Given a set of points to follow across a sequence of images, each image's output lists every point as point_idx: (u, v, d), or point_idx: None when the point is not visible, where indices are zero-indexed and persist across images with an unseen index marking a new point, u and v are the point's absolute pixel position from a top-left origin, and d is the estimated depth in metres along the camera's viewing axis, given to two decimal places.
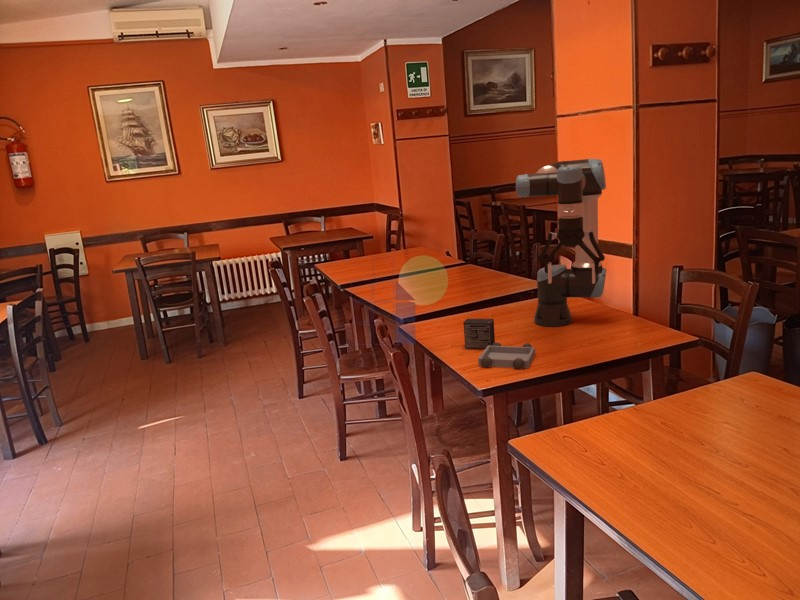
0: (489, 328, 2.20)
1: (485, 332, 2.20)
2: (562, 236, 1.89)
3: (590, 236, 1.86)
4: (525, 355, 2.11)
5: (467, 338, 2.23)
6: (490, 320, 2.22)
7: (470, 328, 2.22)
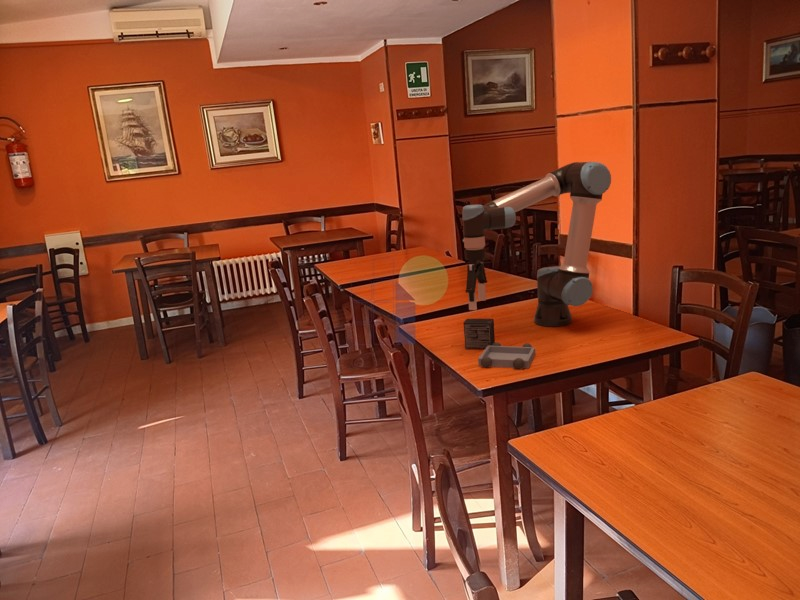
0: (489, 328, 2.20)
1: (485, 332, 2.20)
2: None
3: None
4: (525, 355, 2.11)
5: (467, 338, 2.23)
6: (490, 320, 2.22)
7: (470, 328, 2.22)
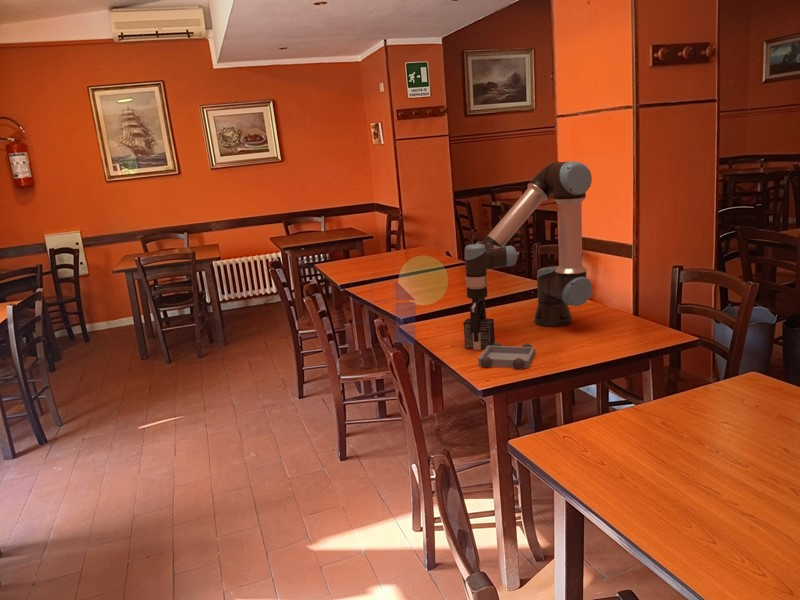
0: (489, 328, 2.19)
1: (485, 332, 2.20)
2: None
3: None
4: (525, 355, 2.11)
5: (467, 338, 2.23)
6: (490, 320, 2.22)
7: (470, 328, 2.22)
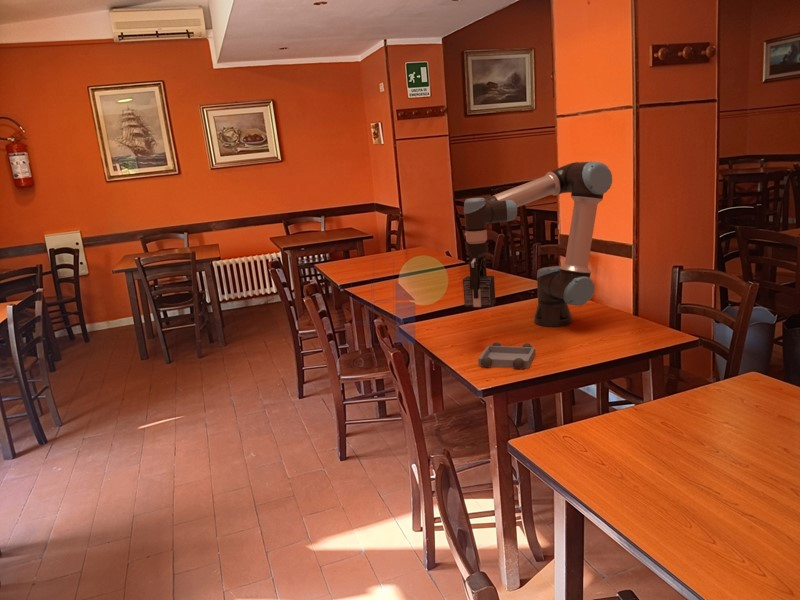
0: (489, 285, 2.14)
1: (485, 289, 2.15)
2: None
3: None
4: (525, 355, 2.11)
5: (466, 295, 2.18)
6: (490, 277, 2.16)
7: None
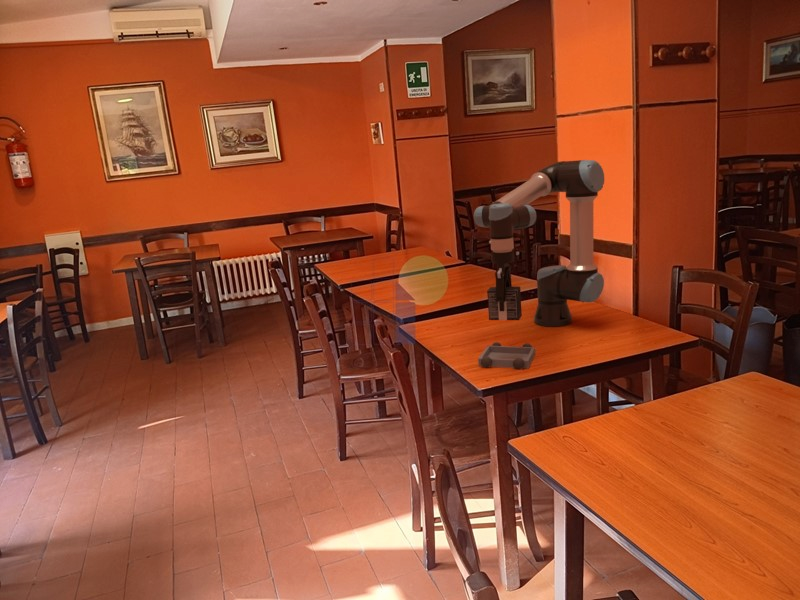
0: (516, 296, 1.99)
1: (512, 301, 2.00)
2: None
3: None
4: (525, 355, 2.11)
5: (491, 308, 2.03)
6: (517, 288, 2.01)
7: (495, 297, 2.02)
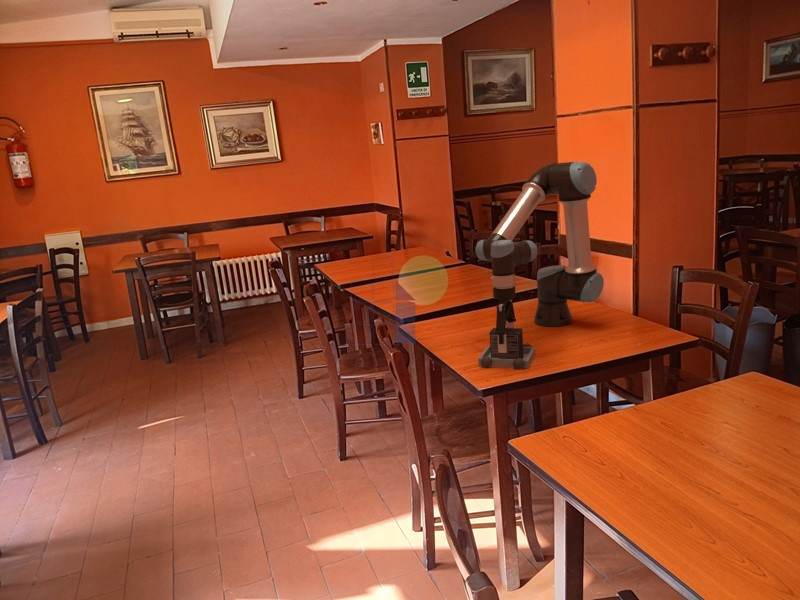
0: (517, 339, 2.03)
1: (513, 343, 2.04)
2: None
3: None
4: (525, 355, 2.11)
5: (493, 349, 2.07)
6: (518, 330, 2.05)
7: (497, 338, 2.06)
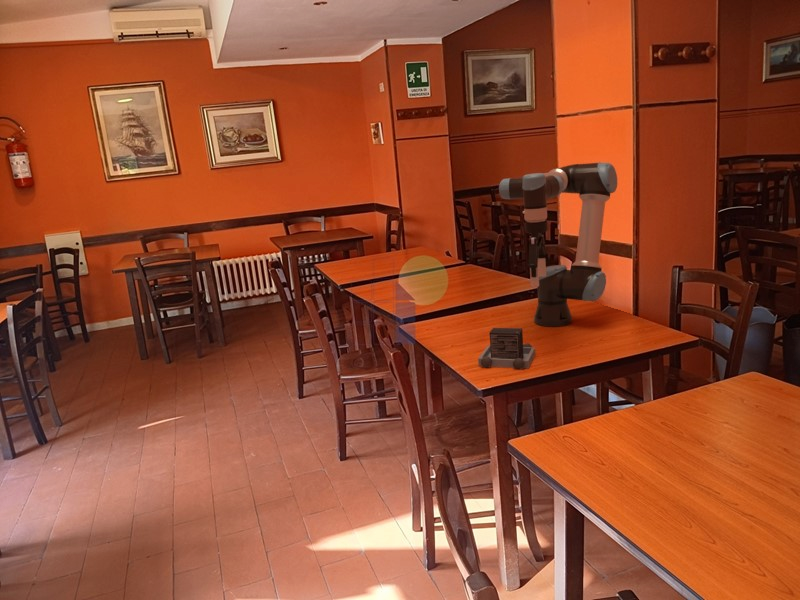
0: (517, 339, 2.03)
1: (513, 343, 2.04)
2: None
3: None
4: (525, 355, 2.11)
5: (493, 349, 2.07)
6: (518, 330, 2.05)
7: (497, 338, 2.06)
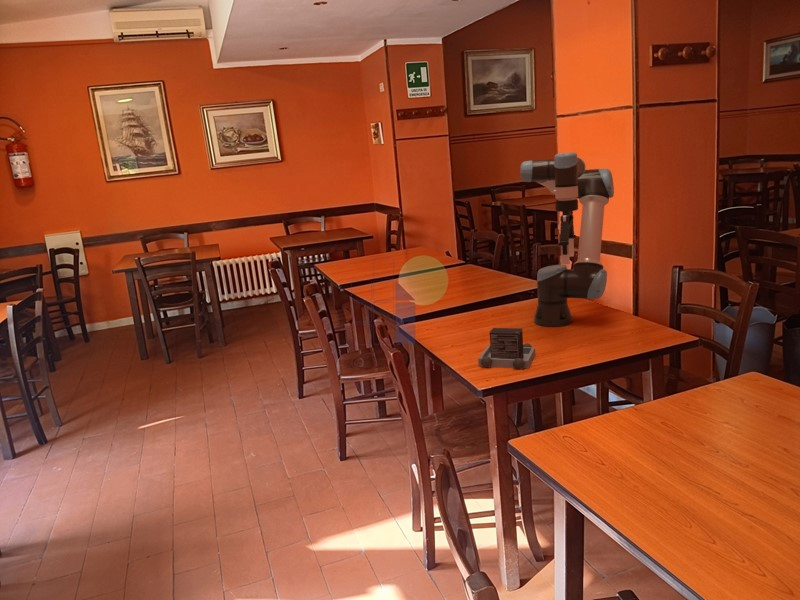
0: (517, 339, 2.03)
1: (513, 343, 2.04)
2: None
3: (561, 219, 2.02)
4: (525, 355, 2.11)
5: (493, 349, 2.07)
6: (518, 330, 2.05)
7: (497, 338, 2.06)
